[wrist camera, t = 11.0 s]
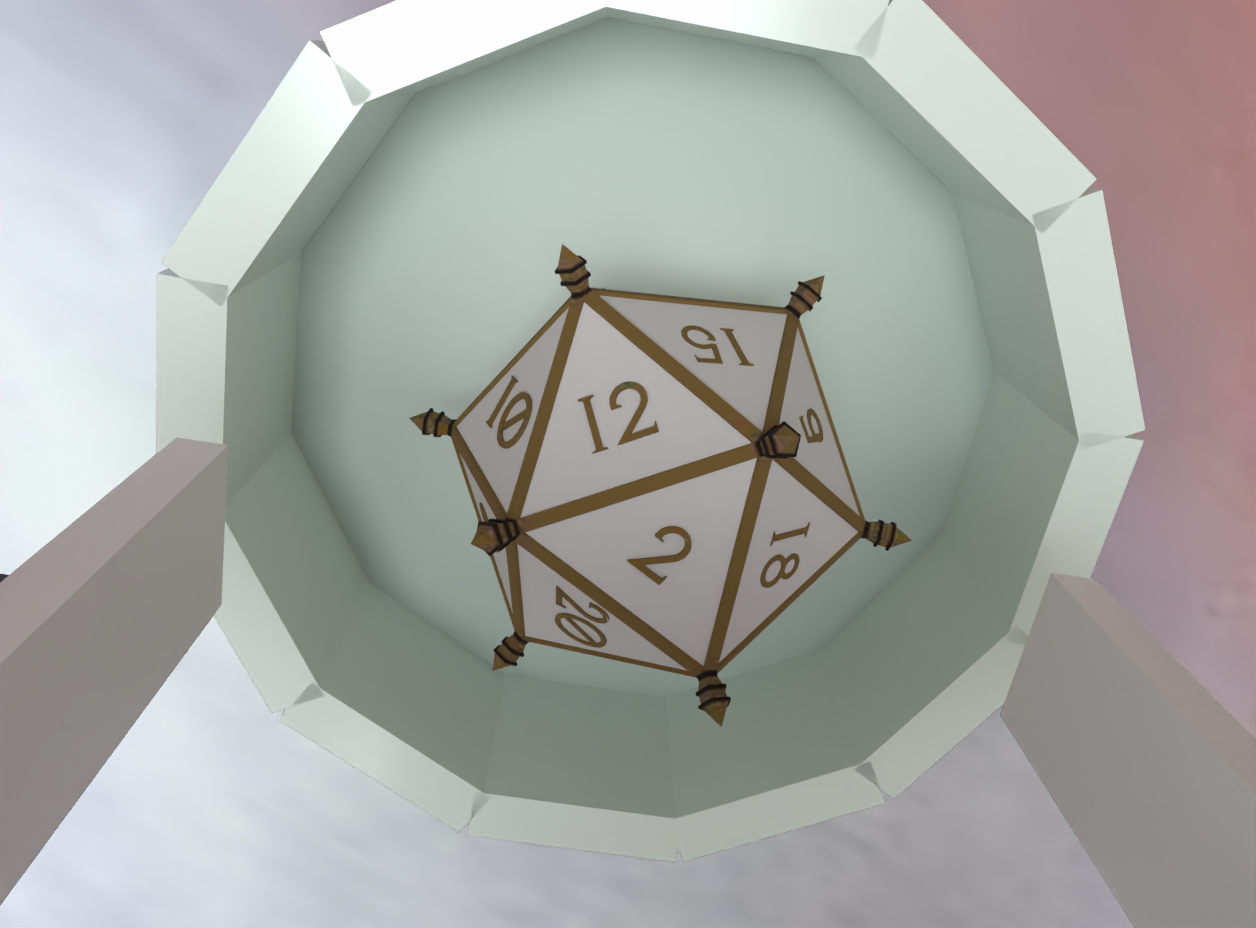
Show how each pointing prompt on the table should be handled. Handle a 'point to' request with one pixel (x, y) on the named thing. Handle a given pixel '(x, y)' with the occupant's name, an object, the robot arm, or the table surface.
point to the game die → (657, 478)
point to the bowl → (665, 265)
